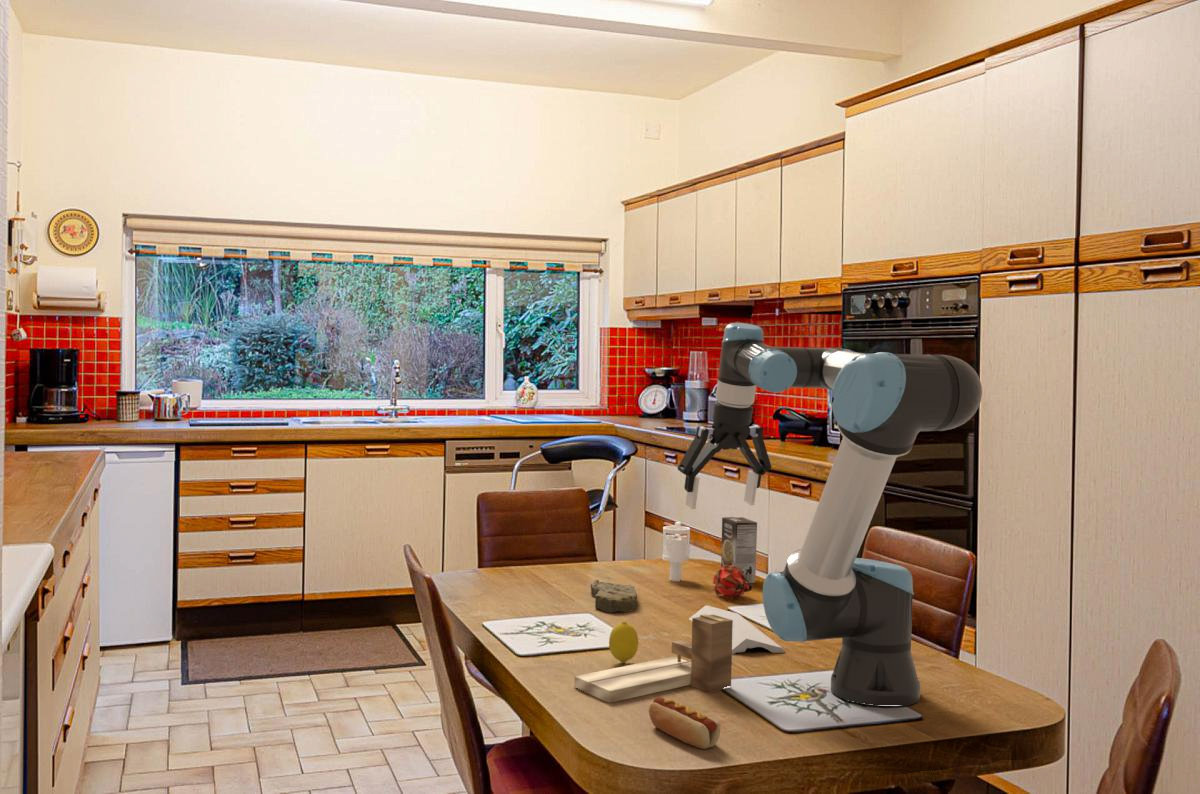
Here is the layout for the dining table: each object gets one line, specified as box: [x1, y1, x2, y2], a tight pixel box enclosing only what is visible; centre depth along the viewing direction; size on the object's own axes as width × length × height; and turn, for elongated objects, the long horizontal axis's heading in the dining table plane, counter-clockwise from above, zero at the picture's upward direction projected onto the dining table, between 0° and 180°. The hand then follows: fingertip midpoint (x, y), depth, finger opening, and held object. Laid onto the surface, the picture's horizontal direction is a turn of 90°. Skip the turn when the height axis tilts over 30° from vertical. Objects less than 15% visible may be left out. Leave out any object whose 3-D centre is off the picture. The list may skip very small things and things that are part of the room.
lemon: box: [608, 620, 639, 664], centre depth 200 cm, size 6×6×8 cm
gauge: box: [671, 614, 733, 693], centre depth 189 cm, size 12×5×12 cm, turn 37°
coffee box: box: [720, 516, 758, 584], centre depth 280 cm, size 9×6×16 cm
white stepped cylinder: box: [662, 521, 691, 582], centre depth 278 cm, size 7×7×15 cm
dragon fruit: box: [712, 565, 753, 601], centre depth 259 cm, size 8×8×12 cm
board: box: [574, 656, 691, 704], centre depth 187 cm, size 10×23×2 cm, turn 127°
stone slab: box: [590, 579, 638, 613], centre depth 253 cm, size 27×12×5 cm, turn 9°
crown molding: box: [688, 604, 786, 655], centre depth 223 cm, size 29×12×4 cm, turn 11°
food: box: [648, 696, 721, 750], centre depth 161 cm, size 14×6×5 cm, turn 35°
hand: (720, 505), depth 211 cm, fingers open, 13 cm apart
